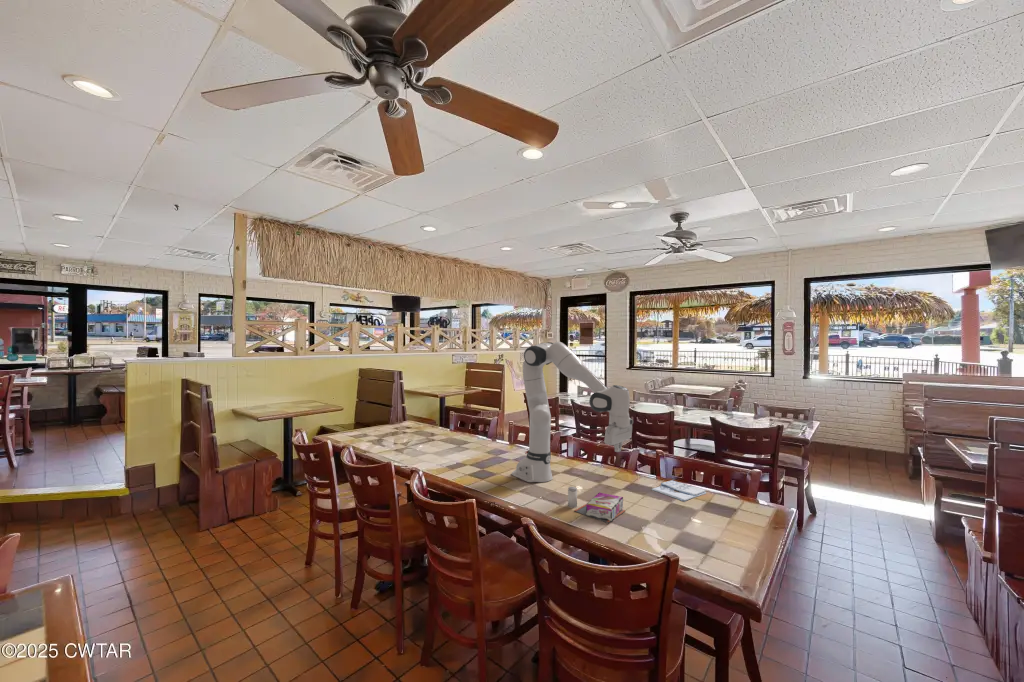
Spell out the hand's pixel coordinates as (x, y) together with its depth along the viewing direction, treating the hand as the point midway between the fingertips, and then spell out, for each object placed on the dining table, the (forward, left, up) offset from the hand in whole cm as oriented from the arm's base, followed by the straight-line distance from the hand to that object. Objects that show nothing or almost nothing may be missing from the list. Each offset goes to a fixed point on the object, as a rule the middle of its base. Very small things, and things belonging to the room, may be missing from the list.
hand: (617, 451), depth 185 cm
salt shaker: (-12, -19, -23) cm, 32 cm away
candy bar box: (+1, -7, -20) cm, 21 cm away
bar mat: (0, -16, -23) cm, 28 cm away
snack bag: (+16, +32, -23) cm, 43 cm away
